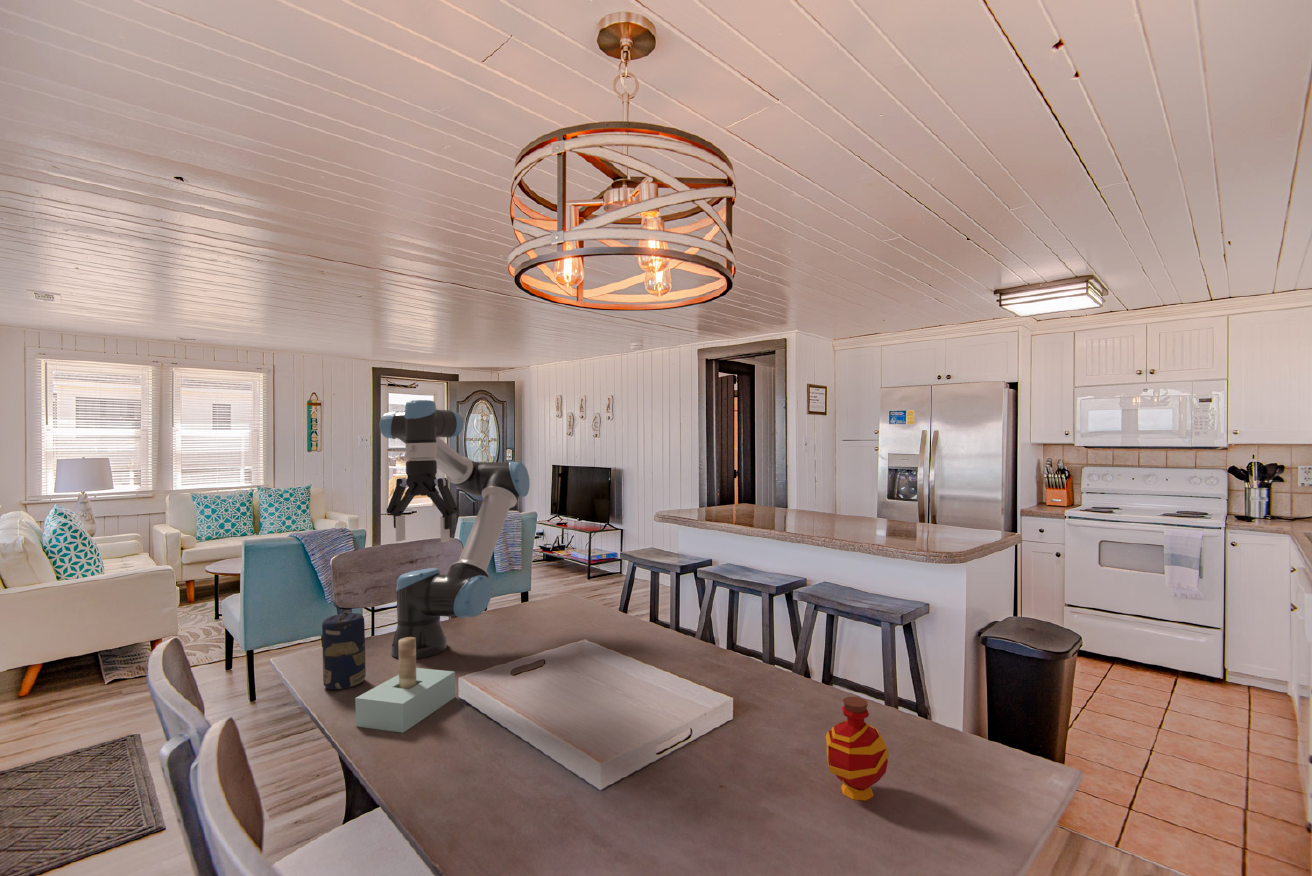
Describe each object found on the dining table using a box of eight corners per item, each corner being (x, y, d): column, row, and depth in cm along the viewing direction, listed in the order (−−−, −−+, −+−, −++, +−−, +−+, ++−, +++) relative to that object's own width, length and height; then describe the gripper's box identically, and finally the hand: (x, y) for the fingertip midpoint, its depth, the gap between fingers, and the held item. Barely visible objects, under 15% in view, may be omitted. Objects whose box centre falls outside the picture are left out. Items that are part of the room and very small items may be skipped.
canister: (373, 677, 156) (372, 607, 156) (351, 692, 146) (350, 618, 146) (338, 677, 156) (337, 607, 157) (314, 692, 147) (313, 618, 147)
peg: (406, 706, 138) (405, 636, 138) (420, 708, 137) (419, 637, 137) (395, 713, 134) (394, 641, 134) (409, 715, 133) (408, 642, 133)
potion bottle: (883, 817, 94) (880, 720, 94) (817, 797, 99) (815, 706, 100) (896, 784, 103) (894, 696, 103) (835, 768, 108) (833, 684, 108)
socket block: (412, 692, 146) (411, 667, 146) (455, 697, 142) (454, 671, 142) (355, 726, 128) (355, 698, 128) (403, 732, 125) (402, 703, 125)
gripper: (371, 460, 157) (372, 542, 157) (454, 459, 150) (455, 545, 150) (391, 459, 164) (392, 537, 164) (471, 458, 157) (472, 540, 157)
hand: (422, 541), depth 157 cm, fingers open, 13 cm apart
